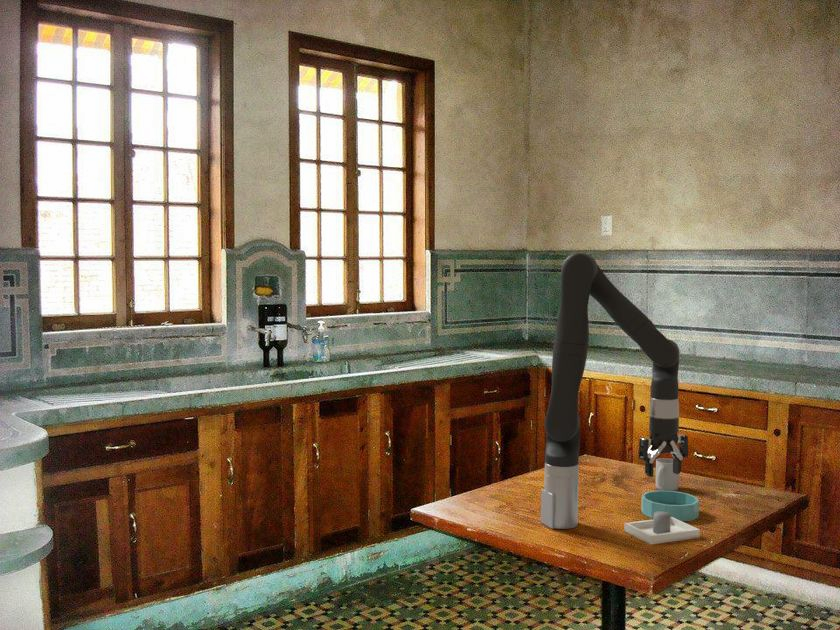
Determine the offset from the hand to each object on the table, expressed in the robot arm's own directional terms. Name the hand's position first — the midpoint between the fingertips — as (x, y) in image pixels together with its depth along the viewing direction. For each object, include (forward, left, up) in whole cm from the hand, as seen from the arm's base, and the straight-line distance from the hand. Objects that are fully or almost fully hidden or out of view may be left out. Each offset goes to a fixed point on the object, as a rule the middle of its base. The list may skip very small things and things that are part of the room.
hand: (663, 474), depth 230 cm
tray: (0, 0, -16) cm, 16 cm away
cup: (+29, +37, -16) cm, 50 cm away
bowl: (+14, +15, -16) cm, 26 cm away
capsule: (0, 0, -16) cm, 16 cm away
